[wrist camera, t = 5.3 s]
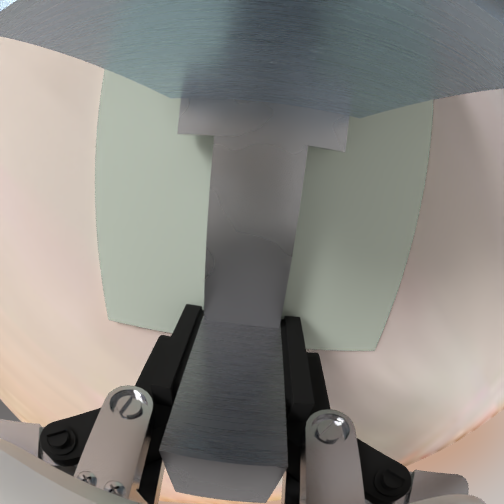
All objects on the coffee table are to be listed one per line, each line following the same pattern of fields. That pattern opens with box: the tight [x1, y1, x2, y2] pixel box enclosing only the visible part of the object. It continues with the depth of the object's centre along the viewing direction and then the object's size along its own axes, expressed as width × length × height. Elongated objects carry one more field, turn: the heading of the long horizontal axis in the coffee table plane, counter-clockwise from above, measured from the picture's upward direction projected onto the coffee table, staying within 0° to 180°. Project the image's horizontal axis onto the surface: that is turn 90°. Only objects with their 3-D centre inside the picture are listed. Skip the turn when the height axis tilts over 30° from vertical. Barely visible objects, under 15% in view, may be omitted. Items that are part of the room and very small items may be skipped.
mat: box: [95, 69, 434, 351], centre depth 8 cm, size 10×11×1 cm
